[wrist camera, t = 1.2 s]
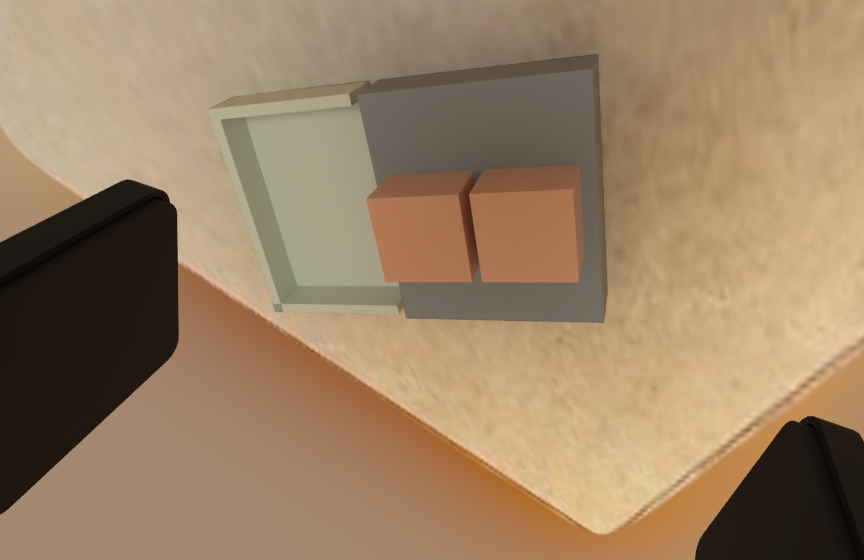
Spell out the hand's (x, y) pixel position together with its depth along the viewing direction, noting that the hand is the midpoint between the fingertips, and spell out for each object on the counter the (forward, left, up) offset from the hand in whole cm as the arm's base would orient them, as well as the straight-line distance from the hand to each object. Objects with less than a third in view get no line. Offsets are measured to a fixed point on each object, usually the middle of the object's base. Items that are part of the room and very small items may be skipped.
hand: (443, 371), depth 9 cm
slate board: (+5, +7, -24) cm, 25 cm away
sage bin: (+15, +7, -24) cm, 29 cm away
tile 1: (+7, +7, -21) cm, 23 cm away
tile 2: (+2, +7, -21) cm, 22 cm away
